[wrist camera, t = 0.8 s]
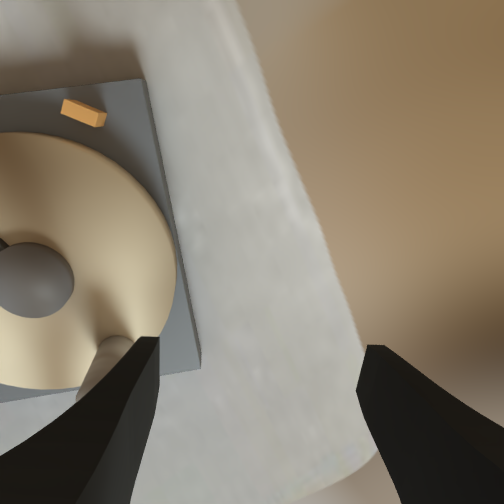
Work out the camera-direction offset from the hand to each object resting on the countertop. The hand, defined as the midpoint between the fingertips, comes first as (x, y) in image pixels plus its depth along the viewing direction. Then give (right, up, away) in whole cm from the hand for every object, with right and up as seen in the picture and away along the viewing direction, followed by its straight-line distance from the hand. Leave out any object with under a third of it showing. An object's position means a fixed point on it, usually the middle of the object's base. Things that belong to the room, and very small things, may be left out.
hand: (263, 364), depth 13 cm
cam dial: (-11, +3, +6) cm, 13 cm away
